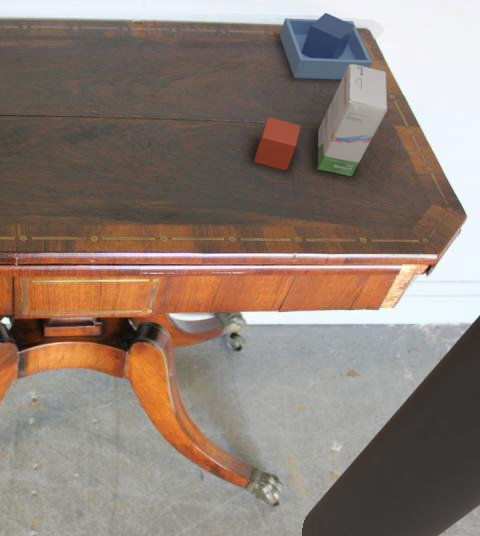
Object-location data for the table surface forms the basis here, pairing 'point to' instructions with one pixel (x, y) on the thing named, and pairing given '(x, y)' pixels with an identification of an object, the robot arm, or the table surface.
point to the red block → (277, 143)
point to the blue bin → (320, 68)
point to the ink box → (352, 119)
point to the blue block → (327, 38)
